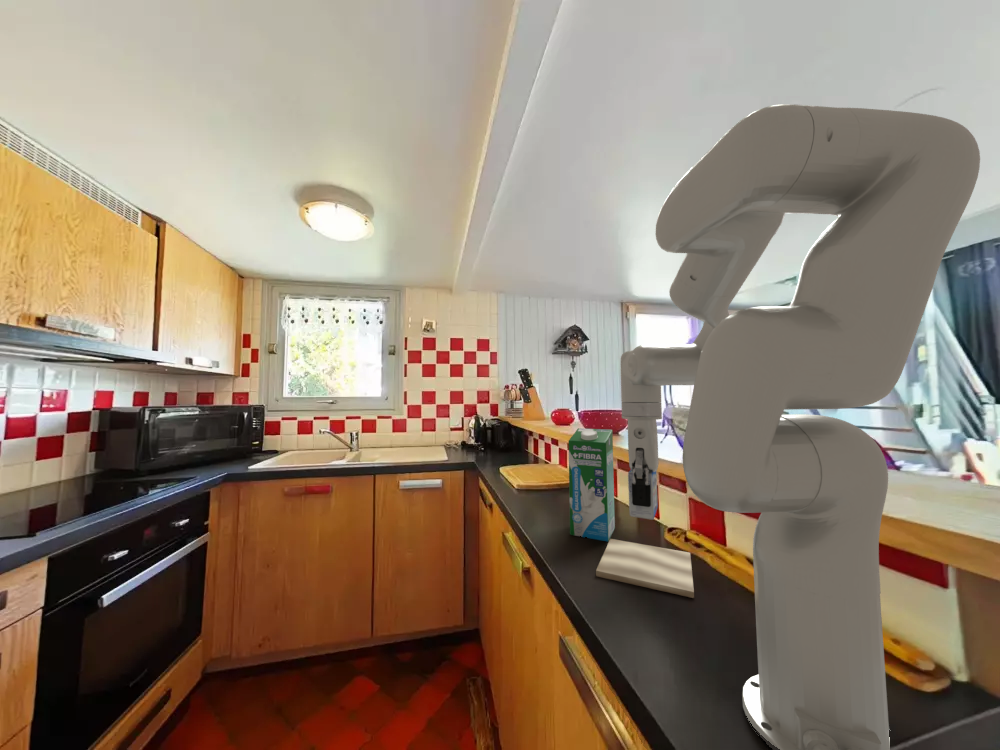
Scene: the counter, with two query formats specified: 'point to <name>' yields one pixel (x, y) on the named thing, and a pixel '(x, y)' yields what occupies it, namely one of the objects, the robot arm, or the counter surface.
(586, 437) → the milk carton
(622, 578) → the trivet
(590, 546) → the counter surface
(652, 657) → the counter surface
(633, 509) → the medicine box
